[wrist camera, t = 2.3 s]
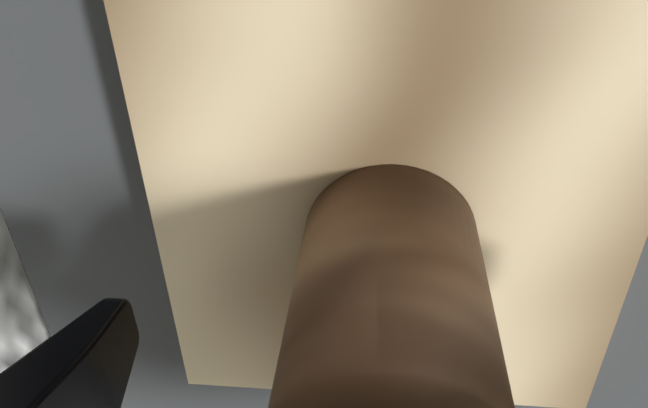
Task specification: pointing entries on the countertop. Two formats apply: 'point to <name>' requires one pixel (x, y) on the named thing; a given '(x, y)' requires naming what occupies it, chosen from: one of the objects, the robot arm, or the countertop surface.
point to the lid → (392, 191)
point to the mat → (142, 209)
